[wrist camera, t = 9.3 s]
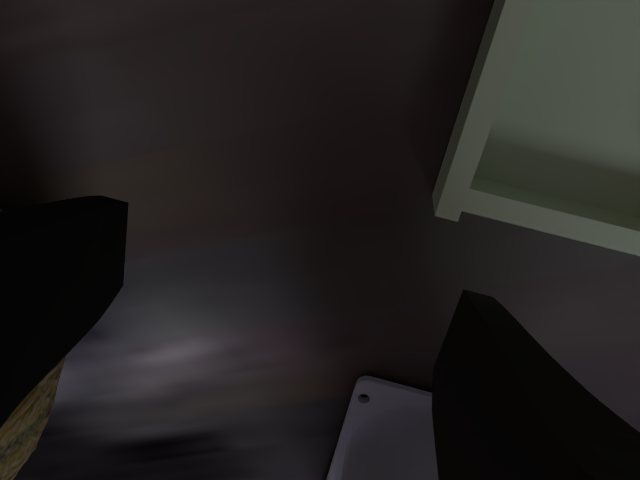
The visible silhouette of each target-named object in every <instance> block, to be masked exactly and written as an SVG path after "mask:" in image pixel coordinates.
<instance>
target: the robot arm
mask: <svg viewBox="0 0 640 480" xmlns="http://www.w3.org/2000/svg"><path fill="white" fill-rule="evenodd" d="M127 216H128V202H124V201H120V200H116V199H112V198H108V197H104V196H86V197H79V198H72V199H66V200H60V201H55V202H50V203H44V204H39V205H34V206H28V207H23V208H18V209H12V210H7V211H1V212H0V428H1V427H2V426H3V424H4V423H5V422H6V420H7V419H8V418H9V416H10V415H11V414H12V413H13V411H14V410H15V409H16V408H17V407H18V406H19V404H20V403H21V402H22V401H23V400H24V399H25V398H26V397H27V395H28V394H29V393H30V392H31V391H32V390H33V389H34V388H35V387H36V386H37V385H38V384H39V383H40V382H41V381H42V380H43V379H44V378H45V376H46V375H47V374H48V373H49V372H50V371H51V370H52V369H53V368H54V367H55V366H56V365H57V364H58V363H59V362H60V361H61V360H62V359H63V358H64V357H65V356H66V355H67V354H68V353H69V352H70V350H71V349H72V348H73V347H74V346H75V345H76V344H77V343H78V342H79V341H80V340H81V339H82V338H83V337H84V336H85V335H86V334H87V333H88V331H89V330H90V329H91V328H92V327H93V326H94V325H95V324H96V323H97V322H98V321H99V319H100V318H101V317H102V315H103V314H104V312H105V311H106V310H107V308H108V307H109V306H110V304H111V303H112V301H113V300H114V298H115V297H116V295H117V294H118V292H119V291H120V289H121V288H122V286H123V278H124V263H125V247H126V232H127ZM361 394H366V395H368V396H369V397H366V398H365V397H361V396H360V395H361ZM326 480H640V432H638V431H637V430H635V429H634V428H633V427H631V426H630V425H629V424H628V423H626V422H625V421H624V420H623V419H621V418H620V417H619V416H618V415H616V414H615V413H614V412H613V411H611V410H610V409H609V408H608V407H606V406H605V405H604V404H603V403H601V402H600V401H599V400H598V399H597V398H595V397H594V396H593V395H592V394H591V393H590V392H588V391H587V390H586V389H585V388H584V387H583V386H582V385H581V384H580V383H579V382H578V381H576V380H575V379H574V378H573V377H572V376H571V375H570V374H569V373H568V372H567V371H566V370H565V369H564V368H562V367H561V366H560V365H559V364H558V363H557V362H556V361H555V360H554V359H553V358H552V357H551V356H550V355H549V354H548V353H547V352H546V351H545V350H544V349H543V348H542V346H541V345H540V344H539V343H538V342H537V341H536V340H535V339H534V338H533V337H532V336H531V335H530V334H529V333H528V332H527V331H526V330H525V329H524V328H523V326H522V325H521V324H520V323H519V322H518V321H517V320H516V319H515V318H514V317H513V316H512V315H511V314H510V313H509V312H508V311H507V310H506V309H505V308H504V307H503V306H502V305H501V304H500V303H499V302H498V301H497V300H496V299H495V298H493V297H490V296H487V295H483V294H479V293H475V292H471V291H467V290H463V292H462V294H461V297H460V300H459V302H458V305H457V308H456V310H455V313H454V315H453V318H452V321H451V323H450V326H449V329H448V331H447V334H446V337H445V339H444V342H443V345H442V347H441V350H440V353H439V355H438V358H437V360H436V363H435V366H434V370H433V387H432V393H431V392H427V391H424V390H420V389H416V388H412V387H409V386H405V385H401V384H398V383H394V382H390V381H386V380H383V379H379V378H375V377H372V376H361V377H360V378H358V380H357V381H356V384H355V387H354V390H353V394H352V397H351V400H350V404H349V407H348V410H347V413H346V417H345V420H344V423H343V427H342V430H341V433H340V436H339V440H338V443H337V446H336V449H335V453H334V456H333V459H332V463H331V466H330V469H329V472H328V476H327V479H326Z"/></svg>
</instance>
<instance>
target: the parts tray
mask: <svg viewBox="0 0 640 480" xmlns="http://www.w3.org/2000/svg"><path fill="white" fill-rule="evenodd" d="M432 198H433V207H434V215H435V216H437V217H441V218H445V219H449V220H453V221H456V222H458V220H459V217H460V214H461V211H463V212H467V213H471V214H475V215H479V216H483V217H487V218H491V219H495V220H499V221H503V222H507V223H511V224H515V225H519V226H523V227H527V228H530V229H534V230H538V231H542V232H546V233H550V234H554V235H558V236H562V237H566V238H570V239H574V240H578V241H582V242H586V243H590V244H594V245H598V246H602V247H606V248H610V249H614V250H618V251H622V252H626V253H630V254H634V255H637V256H640V0H494V3H493V7H492V10H491V13H490V16H489V19H488V22H487V25H486V28H485V31H484V35H483V38H482V41H481V44H480V47H479V50H478V53H477V56H476V59H475V63H474V66H473V69H472V72H471V75H470V78H469V81H468V84H467V88H466V91H465V94H464V97H463V100H462V103H461V106H460V109H459V112H458V116H457V119H456V122H455V125H454V128H453V131H452V134H451V137H450V140H449V144H448V147H447V150H446V153H445V156H444V159H443V162H442V165H441V169H440V172H439V175H438V178H437V181H436V184H435V187H434V190H433V193H432Z"/></svg>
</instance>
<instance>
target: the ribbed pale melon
mask: <svg viewBox="0 0 640 480" xmlns="http://www.w3.org/2000/svg"><path fill="white" fill-rule="evenodd" d="M1 211H3V210H2V209H1V208H0V212H1ZM64 361H65V357H64V358H63V359H62V360H61V361H60V362H59V363H58V364H57V365H56V366H55V367H54V368H53V369H52V370H51V371H50V372H49V373H48V374H47V375H46V376H45V378H44V379H43V380H42V381H41V382H40V383H39V384H38V385H37V386H36V387H35V388H34V389H33V390H32V391H31V392H30V393H29V394H28V395H27V397H26V398H25V399H24V400H23V401H22V402H21V403H20V404H19V406H18V407H17V408H16V409H15V410H14V411H13V413H12V414H11V415H10V416H9V418H8V419H7V420H6V422H5V423H4V424H3V426H2V427H1V428H0V480H13V479H14V477H15V476H16V474H17V472H18V471H19V469H20V468H21V467H22V465H23V464H24V463H25V462H26V461H27V460H28V458H29V456H30V454H31V453H32V452H33V451H34V450H35V448H36V447H37V442H38V440H39V438H40V436H41V434H42V431H43V429H44V427H45V425H46V423H47V421H48V419H49V416H50V414H51V411H52V408H53V404H54V398H55V396H56V390H57V386H58V382H59V378H60V374H61V371H62V367H63V364H64Z"/></svg>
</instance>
